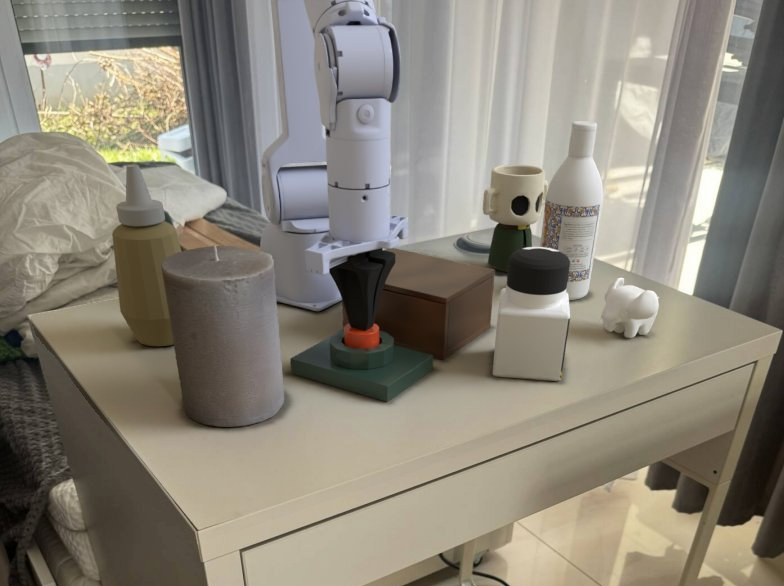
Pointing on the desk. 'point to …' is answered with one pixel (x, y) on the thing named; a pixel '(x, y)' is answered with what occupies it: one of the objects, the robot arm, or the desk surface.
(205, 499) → the desk surface
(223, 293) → the pillar candle
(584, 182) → the bath foam
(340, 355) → the button block
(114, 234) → the squeeze bottle
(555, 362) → the medicine bottle
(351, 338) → the button
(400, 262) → the lid
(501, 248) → the character mug
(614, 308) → the elephant figurine
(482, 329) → the box
